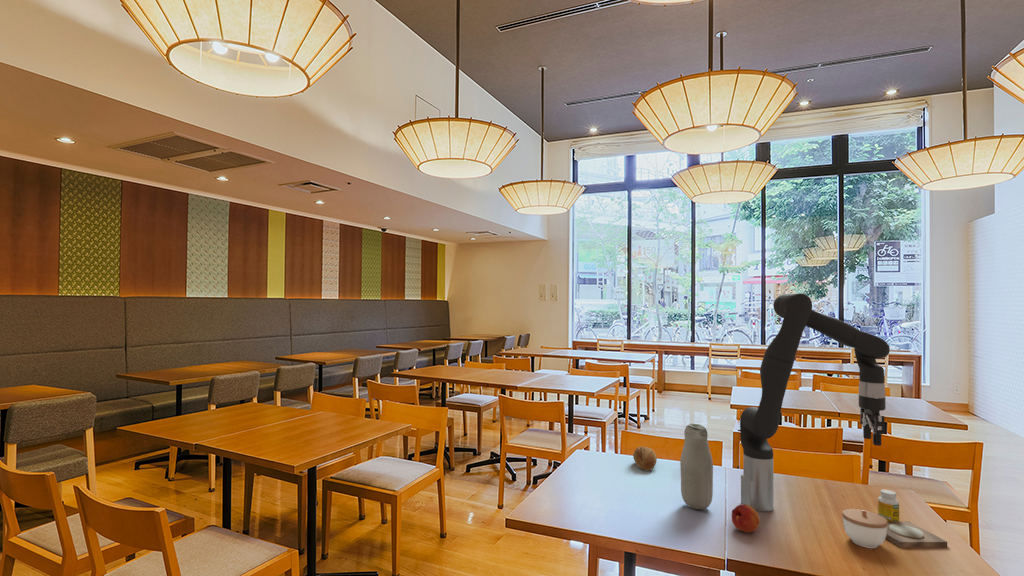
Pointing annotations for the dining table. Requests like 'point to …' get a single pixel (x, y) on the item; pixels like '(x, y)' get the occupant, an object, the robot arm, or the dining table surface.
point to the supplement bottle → (888, 505)
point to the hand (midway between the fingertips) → (872, 441)
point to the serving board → (911, 535)
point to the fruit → (745, 518)
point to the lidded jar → (865, 527)
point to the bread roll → (645, 458)
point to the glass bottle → (696, 468)
